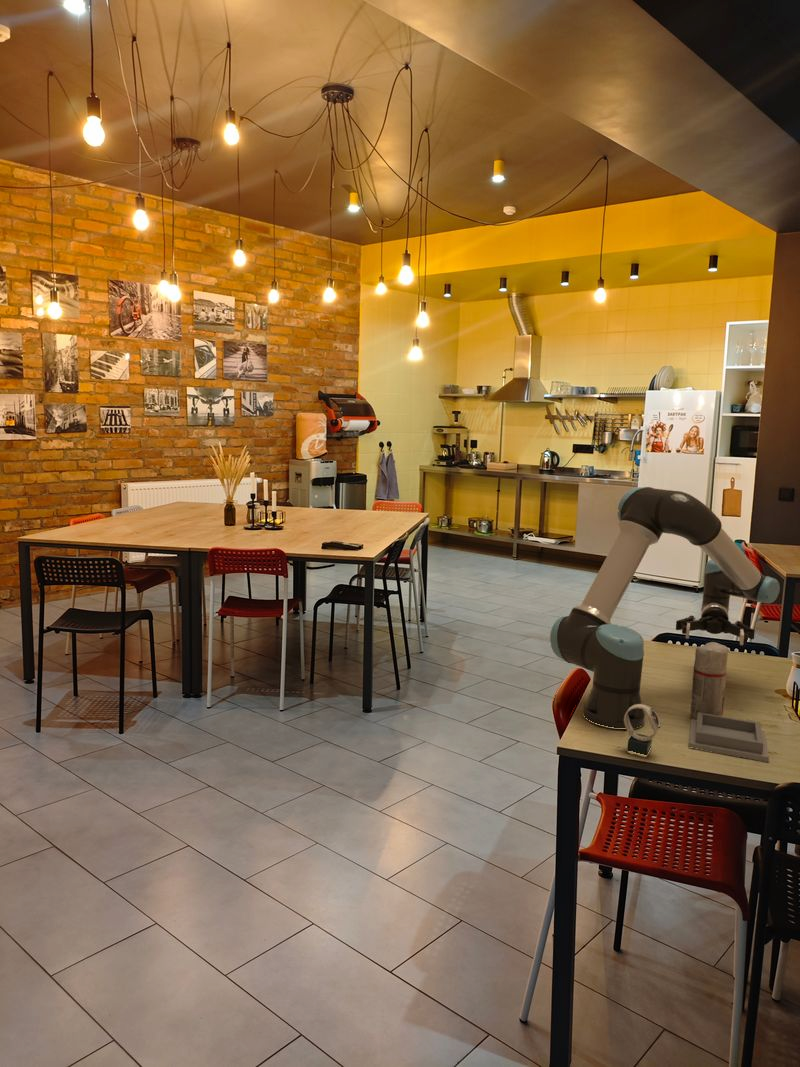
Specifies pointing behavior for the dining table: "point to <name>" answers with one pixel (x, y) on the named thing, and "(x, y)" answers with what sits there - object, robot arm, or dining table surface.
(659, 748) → the dining table surface
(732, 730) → the holder dock
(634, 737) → the watch
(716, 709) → the beige textured cylinder
